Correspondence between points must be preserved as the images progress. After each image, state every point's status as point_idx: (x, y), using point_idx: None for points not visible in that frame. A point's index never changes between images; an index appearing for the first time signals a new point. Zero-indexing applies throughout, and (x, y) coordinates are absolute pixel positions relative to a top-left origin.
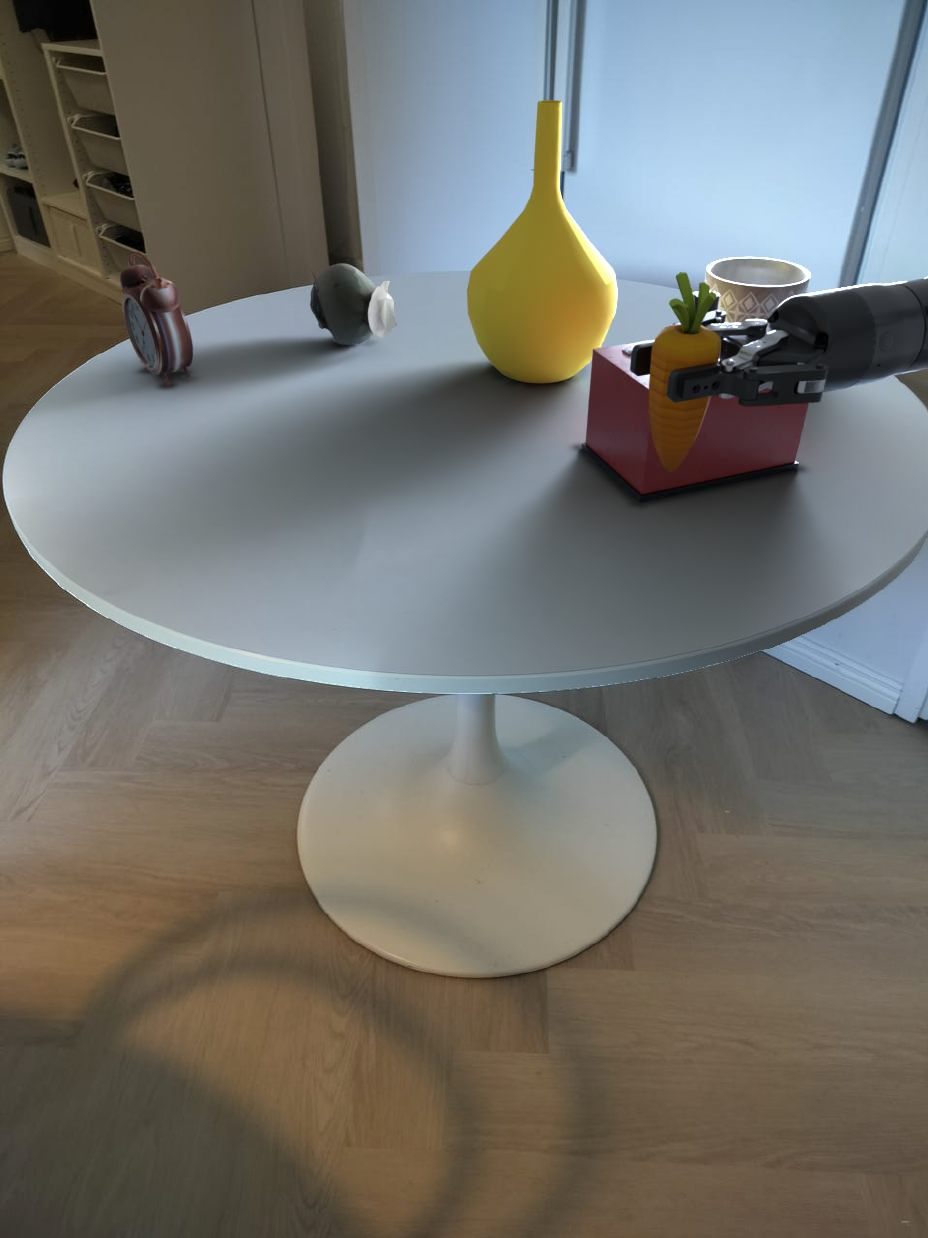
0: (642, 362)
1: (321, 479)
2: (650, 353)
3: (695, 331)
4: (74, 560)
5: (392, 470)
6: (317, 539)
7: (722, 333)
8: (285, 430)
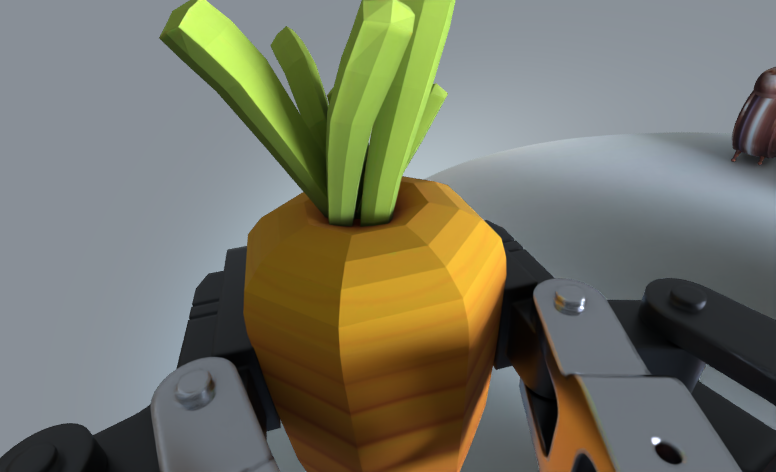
0: None
1: (600, 247)
2: None
3: (318, 206)
4: (453, 171)
5: None
6: None
7: (595, 451)
8: (694, 220)
